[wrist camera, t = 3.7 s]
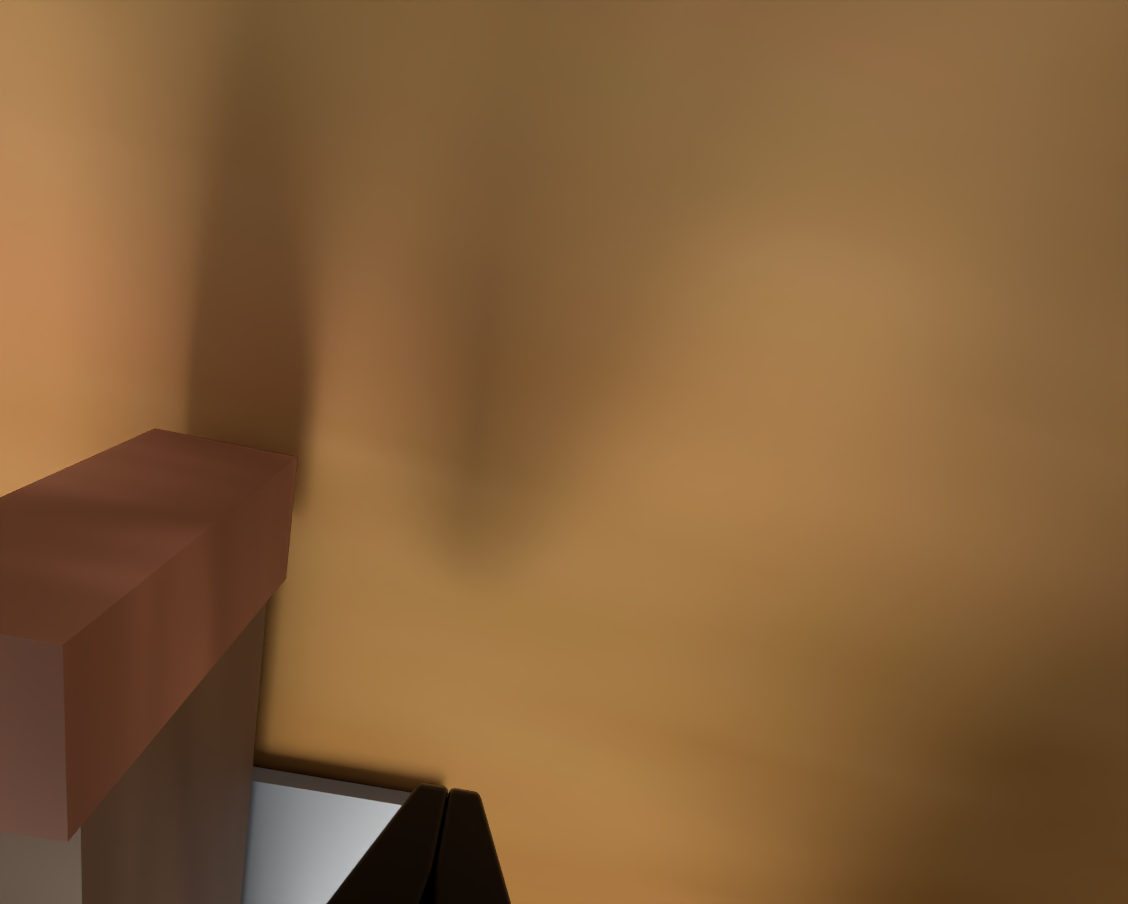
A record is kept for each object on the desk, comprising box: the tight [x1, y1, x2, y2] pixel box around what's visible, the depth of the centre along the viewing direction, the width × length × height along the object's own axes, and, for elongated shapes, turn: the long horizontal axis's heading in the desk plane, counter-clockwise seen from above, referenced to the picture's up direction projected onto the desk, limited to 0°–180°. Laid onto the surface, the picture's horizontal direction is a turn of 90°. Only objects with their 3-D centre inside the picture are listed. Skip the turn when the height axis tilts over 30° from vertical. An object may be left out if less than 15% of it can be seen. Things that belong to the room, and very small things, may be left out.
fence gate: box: [0, 429, 298, 904], centre depth 8 cm, size 2×10×4 cm, turn 168°
